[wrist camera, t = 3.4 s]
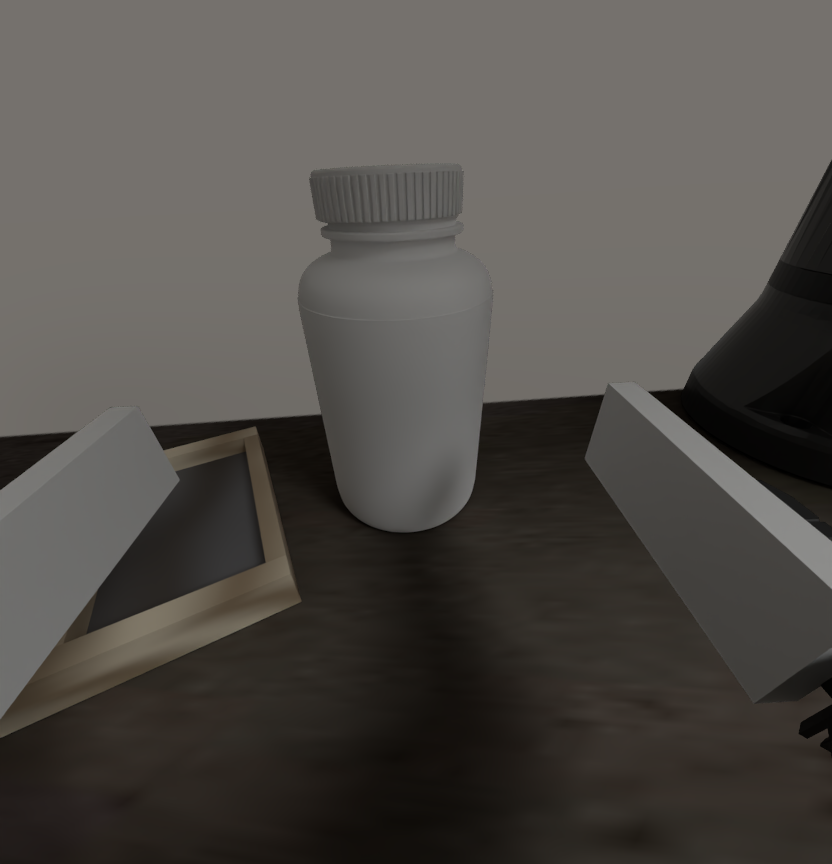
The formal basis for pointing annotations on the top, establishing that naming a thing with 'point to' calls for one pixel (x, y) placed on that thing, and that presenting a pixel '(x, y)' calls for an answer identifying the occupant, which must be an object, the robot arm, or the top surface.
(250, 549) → the tray
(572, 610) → the top surface
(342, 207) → the pill bottle
